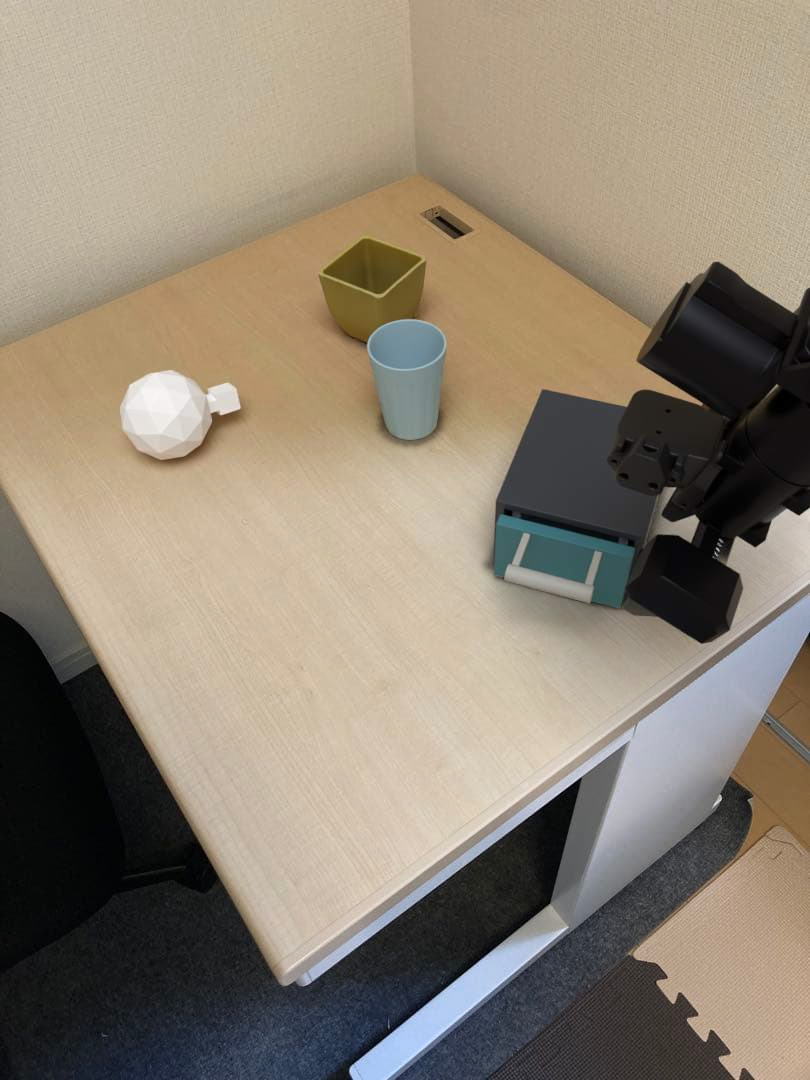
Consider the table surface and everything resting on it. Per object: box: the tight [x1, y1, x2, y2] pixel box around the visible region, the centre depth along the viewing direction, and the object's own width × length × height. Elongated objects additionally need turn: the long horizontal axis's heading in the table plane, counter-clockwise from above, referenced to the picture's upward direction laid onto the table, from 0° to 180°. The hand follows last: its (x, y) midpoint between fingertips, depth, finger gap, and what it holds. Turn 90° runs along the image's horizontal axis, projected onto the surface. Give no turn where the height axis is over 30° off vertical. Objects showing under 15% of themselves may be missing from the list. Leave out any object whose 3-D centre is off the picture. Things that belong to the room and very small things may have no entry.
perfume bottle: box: [119, 369, 242, 461], centre depth 92 cm, size 9×9×12 cm
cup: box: [366, 318, 448, 441], centre depth 92 cm, size 8×8×10 cm
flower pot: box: [317, 234, 428, 344], centre depth 102 cm, size 9×9×9 cm
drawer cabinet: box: [492, 388, 660, 601], centre depth 82 cm, size 15×13×9 cm
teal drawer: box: [493, 511, 635, 609], centre depth 80 cm, size 18×11×7 cm, turn 159°
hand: (648, 562), depth 66 cm, fingers open, 9 cm apart
